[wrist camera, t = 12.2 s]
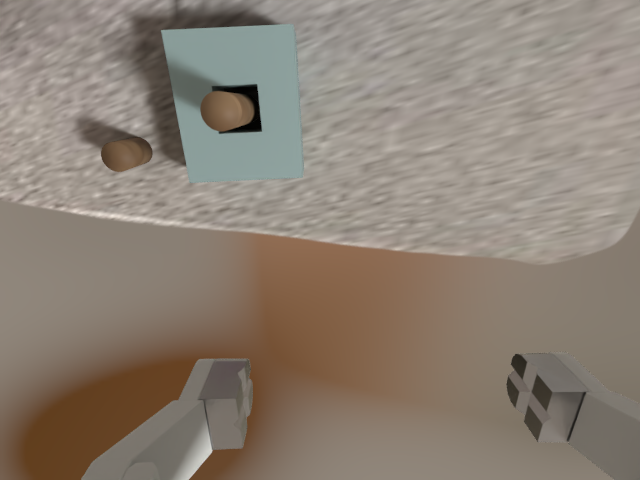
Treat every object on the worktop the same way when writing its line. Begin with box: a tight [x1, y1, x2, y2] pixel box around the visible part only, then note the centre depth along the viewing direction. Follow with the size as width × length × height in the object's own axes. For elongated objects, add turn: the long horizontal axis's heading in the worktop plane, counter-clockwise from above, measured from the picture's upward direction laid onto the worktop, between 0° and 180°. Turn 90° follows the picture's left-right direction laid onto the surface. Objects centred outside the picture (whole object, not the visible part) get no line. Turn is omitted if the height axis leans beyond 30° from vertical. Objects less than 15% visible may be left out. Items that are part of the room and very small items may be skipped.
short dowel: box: [101, 137, 152, 172], centre depth 37 cm, size 3×3×5 cm
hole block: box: [161, 24, 304, 183], centre depth 36 cm, size 14×12×5 cm
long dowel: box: [200, 91, 260, 131], centre depth 33 cm, size 3×3×12 cm
